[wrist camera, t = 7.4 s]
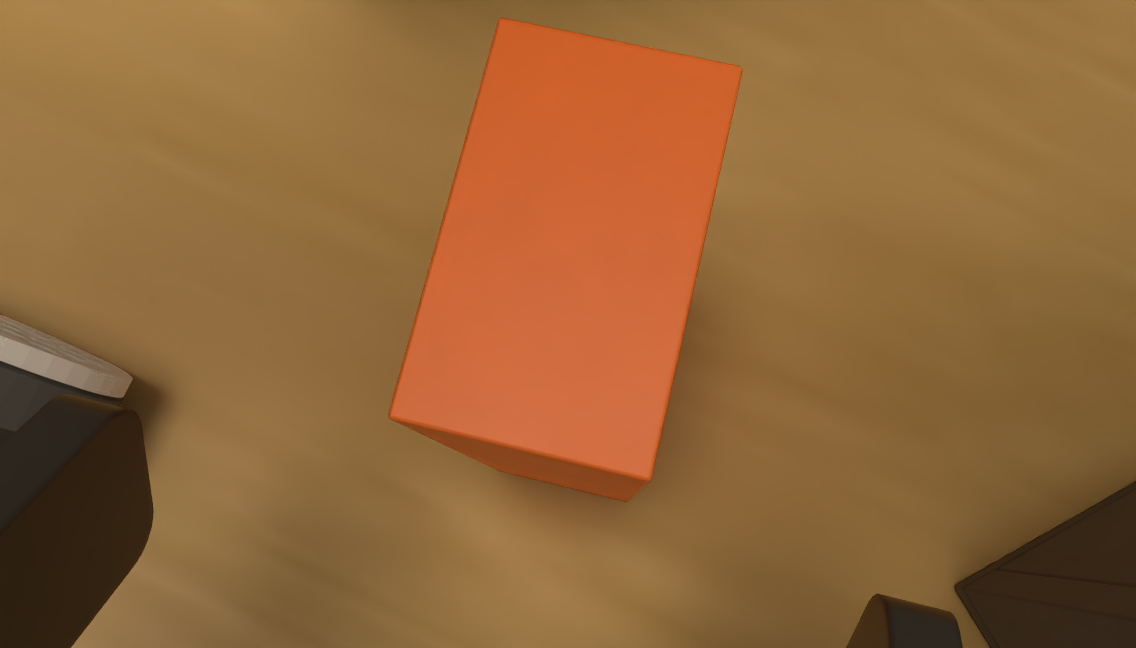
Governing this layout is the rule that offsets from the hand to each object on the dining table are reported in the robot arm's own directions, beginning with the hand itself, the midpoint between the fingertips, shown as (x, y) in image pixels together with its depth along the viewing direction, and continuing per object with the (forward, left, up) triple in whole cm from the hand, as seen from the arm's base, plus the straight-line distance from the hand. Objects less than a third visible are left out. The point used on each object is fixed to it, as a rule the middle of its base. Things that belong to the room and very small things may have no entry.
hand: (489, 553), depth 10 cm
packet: (+3, +3, -11) cm, 11 cm away
